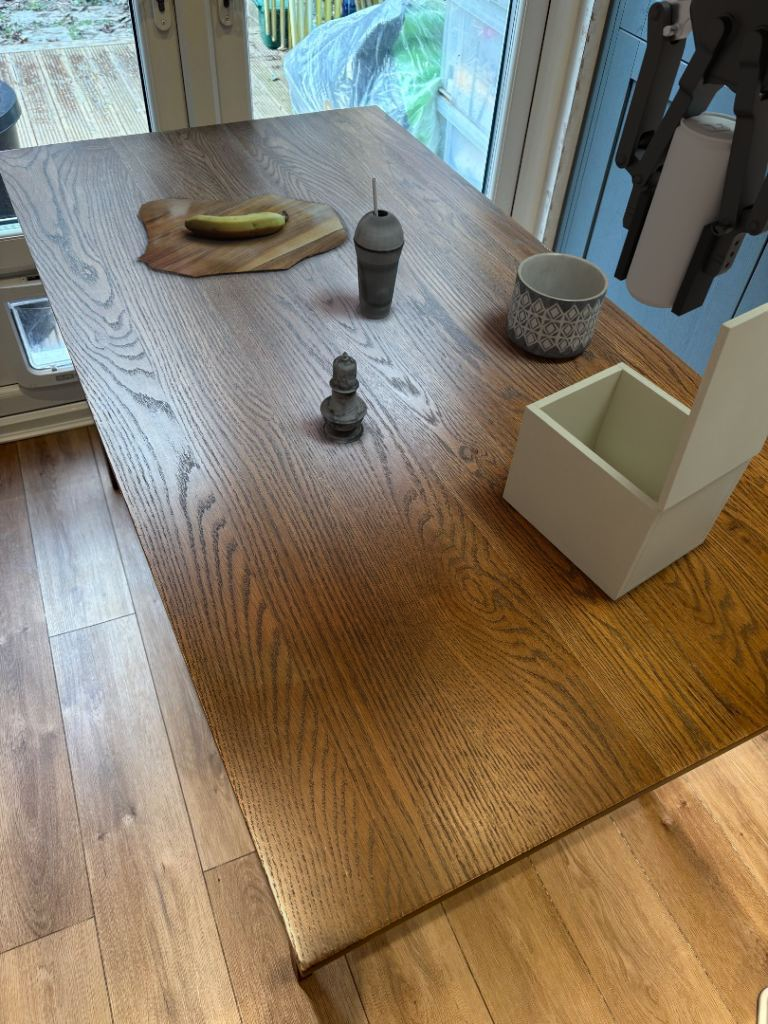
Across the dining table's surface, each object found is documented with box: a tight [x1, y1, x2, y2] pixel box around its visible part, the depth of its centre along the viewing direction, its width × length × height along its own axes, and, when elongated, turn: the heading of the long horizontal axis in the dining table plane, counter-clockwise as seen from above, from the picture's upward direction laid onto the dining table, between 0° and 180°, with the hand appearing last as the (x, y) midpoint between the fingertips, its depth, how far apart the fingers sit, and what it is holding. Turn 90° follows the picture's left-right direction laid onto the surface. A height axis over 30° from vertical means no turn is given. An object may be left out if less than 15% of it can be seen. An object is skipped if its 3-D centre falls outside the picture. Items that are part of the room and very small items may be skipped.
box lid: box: [656, 302, 768, 512], centre depth 66 cm, size 19×15×1 cm
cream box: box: [502, 361, 753, 601], centre depth 82 cm, size 18×15×14 cm
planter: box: [505, 252, 610, 359], centre depth 108 cm, size 13×13×10 cm
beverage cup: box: [352, 177, 406, 320], centre depth 107 cm, size 7×7×20 cm
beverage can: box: [624, 110, 736, 309], centre depth 52 cm, size 5×5×12 cm
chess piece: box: [319, 351, 368, 445], centre depth 91 cm, size 6×6×12 cm
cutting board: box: [136, 194, 347, 278], centre depth 126 cm, size 35×27×4 cm
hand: (657, 290), depth 56 cm, fingers closed on beverage can, 5 cm apart
